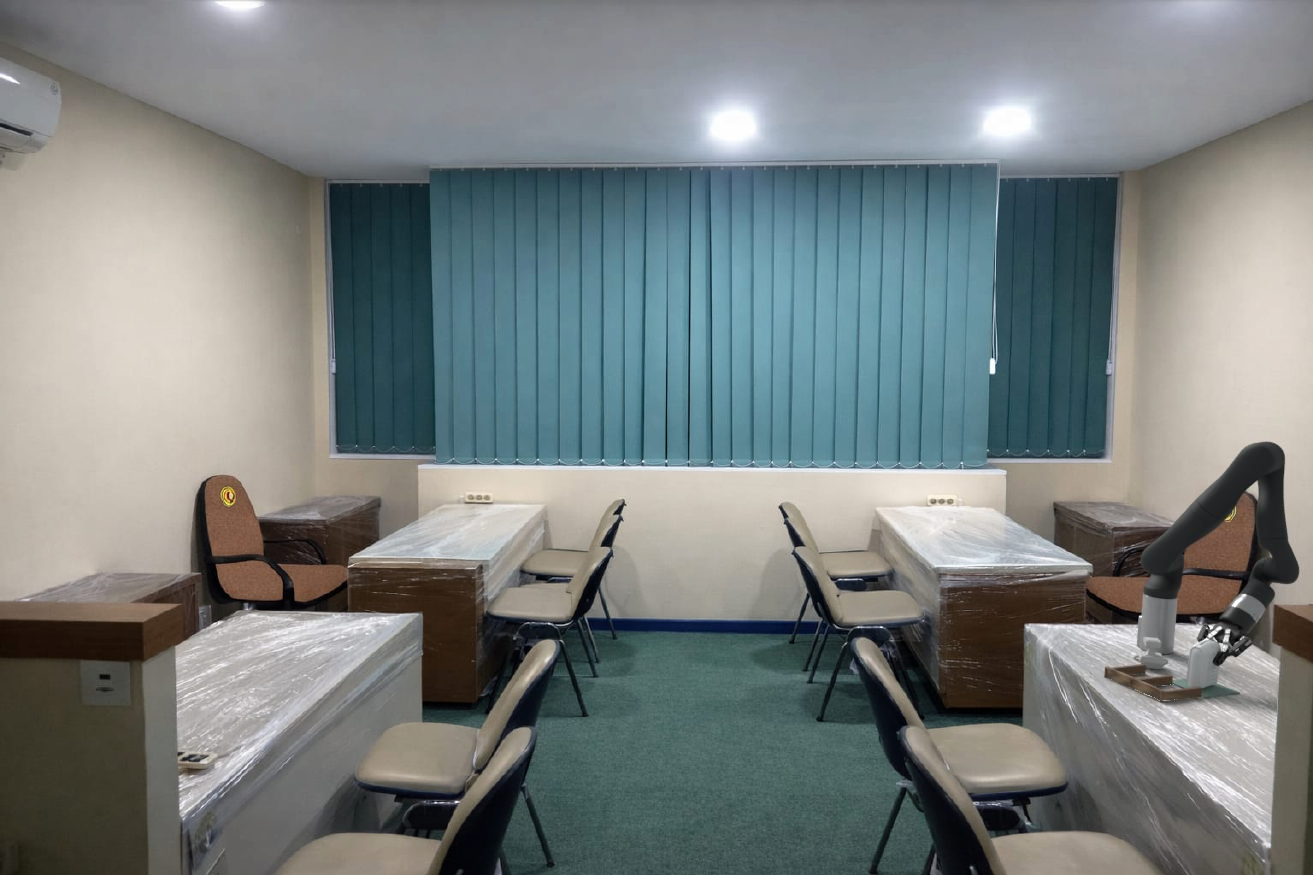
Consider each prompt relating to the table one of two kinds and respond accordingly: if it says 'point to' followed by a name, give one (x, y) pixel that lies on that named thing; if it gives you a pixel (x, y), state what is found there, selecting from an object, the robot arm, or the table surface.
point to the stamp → (1151, 654)
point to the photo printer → (1203, 664)
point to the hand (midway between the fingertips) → (1206, 660)
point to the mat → (1208, 689)
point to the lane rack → (1149, 683)
